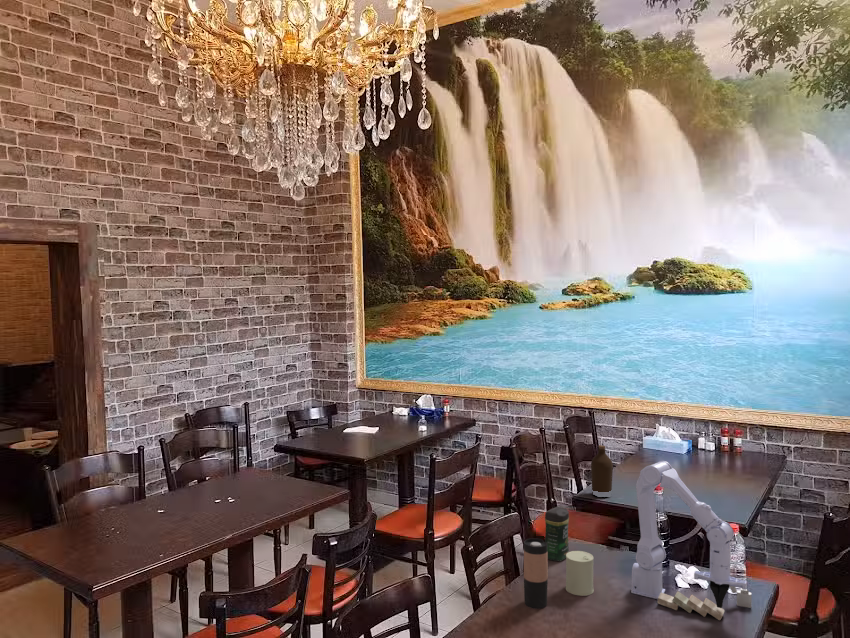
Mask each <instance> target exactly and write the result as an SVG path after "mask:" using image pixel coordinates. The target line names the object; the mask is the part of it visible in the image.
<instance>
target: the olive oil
mask: <svg viewBox="0 0 850 638" xmlns="http://www.w3.org/2000/svg"><path fill="white" fill-rule="evenodd" d="M597 451H598V453H597V454H596V455H595V456H594V457H592V458H591V459H592V460H591V462H590V473H591V474H590V475H591V476H590V477H591V491H592V490H593V491H598V492H609V491H611V490H612V489H613V475H614V474H613V473H614V472H613V471H614V470H613V469H614V464H613V461H612V459H611V458H610V457H609V456H608V455H607V453H606V445H603V444H599V445H598V449H597Z"/></svg>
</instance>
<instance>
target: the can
mask: <svg viewBox="0 0 850 638" xmlns="http://www.w3.org/2000/svg"><path fill="white" fill-rule="evenodd" d="M565 559H566V560H565V565H566V566H565V567H566V568H565V569H566V570H565V572H566V575H565V580H566V581H565V590H566V591H567V593H569V594H571V595H574V596H578V597H580V596H581V597H584V596H585V597H586V596H590V595H592V594H593V593H594V591H595V590H594V556H593V554H591V553H589V552H586V551H584V550H583V551H582V550H572V551H569V552H568V553H567V554H566V558H565Z"/></svg>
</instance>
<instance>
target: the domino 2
mask: <svg viewBox="0 0 850 638" xmlns="http://www.w3.org/2000/svg"><path fill="white" fill-rule="evenodd" d="M673 597H674V598H673V600H672V601H673V602H675V603H676V604H677V605H679V607H680V608H682V609H684V610H685V612H688V613H689V614H691V613H692V611H693V610H694V609H692V608H691V607H689V606H688V605H687V601H688V599H689V598H690V597H689V598H688V597H687V596H686V595H684V594H683V593H681V592H680V591H678V590H677V591H676V593H675V594H674V596H673Z"/></svg>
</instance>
